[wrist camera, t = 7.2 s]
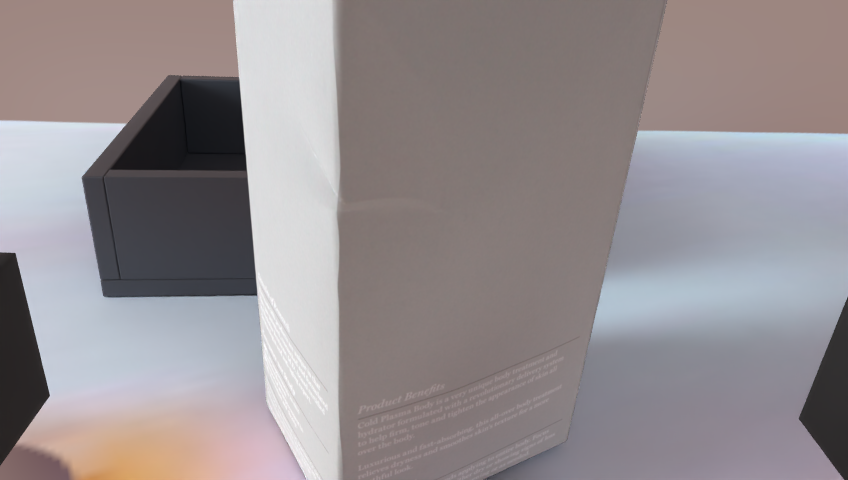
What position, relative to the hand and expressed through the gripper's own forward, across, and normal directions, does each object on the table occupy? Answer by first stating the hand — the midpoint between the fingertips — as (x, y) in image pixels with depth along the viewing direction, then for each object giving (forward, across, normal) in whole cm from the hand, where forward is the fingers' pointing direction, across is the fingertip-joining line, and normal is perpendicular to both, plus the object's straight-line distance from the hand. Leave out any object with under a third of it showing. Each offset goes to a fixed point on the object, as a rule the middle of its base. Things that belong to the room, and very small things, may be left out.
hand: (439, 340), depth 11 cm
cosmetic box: (+7, 0, -9) cm, 12 cm away
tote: (+24, -6, -9) cm, 26 cm away
